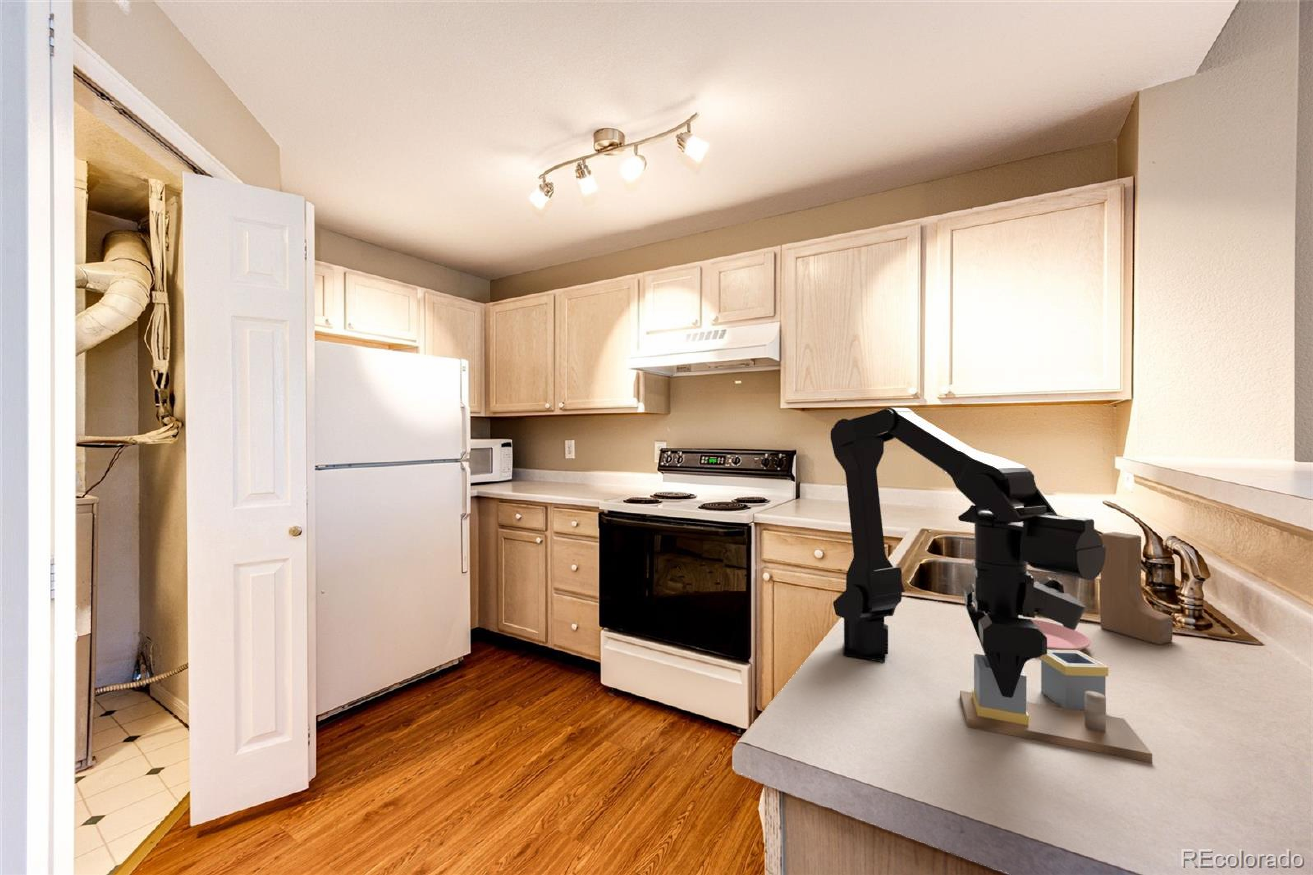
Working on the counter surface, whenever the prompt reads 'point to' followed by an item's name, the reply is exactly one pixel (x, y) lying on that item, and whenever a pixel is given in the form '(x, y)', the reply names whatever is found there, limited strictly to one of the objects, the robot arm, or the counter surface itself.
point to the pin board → (1068, 727)
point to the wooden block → (1128, 593)
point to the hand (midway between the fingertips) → (999, 680)
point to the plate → (1062, 637)
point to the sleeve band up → (1071, 677)
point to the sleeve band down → (997, 695)
